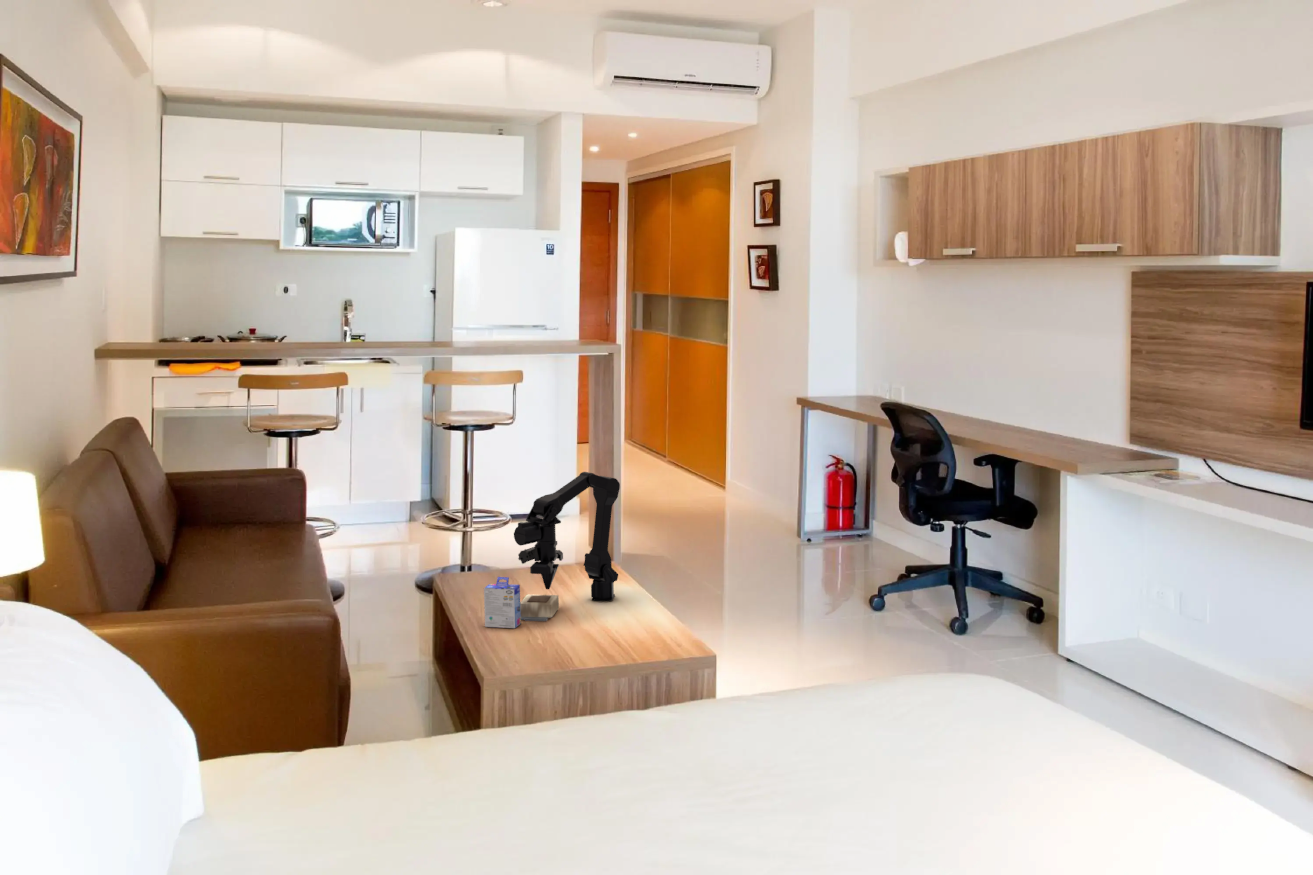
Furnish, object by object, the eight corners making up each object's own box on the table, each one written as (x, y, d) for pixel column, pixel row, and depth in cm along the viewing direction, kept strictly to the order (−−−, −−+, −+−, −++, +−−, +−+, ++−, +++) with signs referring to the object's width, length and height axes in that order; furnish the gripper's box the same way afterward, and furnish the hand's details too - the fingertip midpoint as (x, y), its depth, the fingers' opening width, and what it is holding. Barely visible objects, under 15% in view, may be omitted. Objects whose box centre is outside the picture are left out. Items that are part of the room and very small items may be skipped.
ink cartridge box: (521, 623, 351) (520, 576, 349) (516, 629, 346) (514, 581, 344) (490, 621, 353) (489, 575, 351) (484, 627, 348) (482, 580, 345)
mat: (556, 607, 366) (556, 605, 366) (546, 621, 353) (546, 619, 353) (522, 606, 368) (522, 604, 368) (510, 620, 354) (510, 618, 354)
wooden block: (558, 594, 363) (527, 593, 365) (551, 603, 354) (519, 602, 355) (558, 607, 364) (527, 606, 366) (551, 617, 354) (519, 616, 356)
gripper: (527, 531, 366) (529, 579, 369) (512, 546, 348) (514, 597, 350) (562, 532, 365) (564, 580, 367) (549, 547, 346) (550, 598, 349)
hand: (547, 588), depth 358 cm, fingers closed
